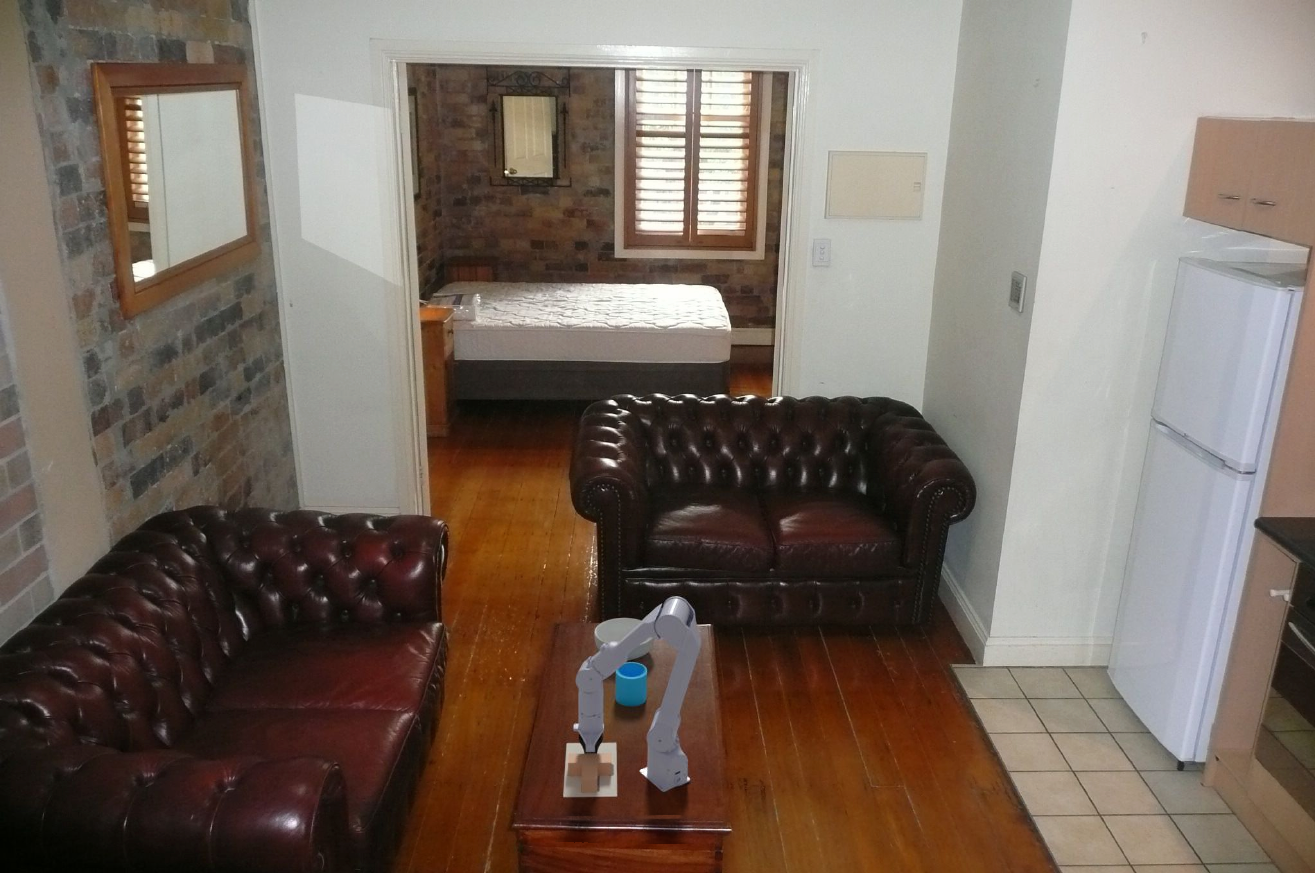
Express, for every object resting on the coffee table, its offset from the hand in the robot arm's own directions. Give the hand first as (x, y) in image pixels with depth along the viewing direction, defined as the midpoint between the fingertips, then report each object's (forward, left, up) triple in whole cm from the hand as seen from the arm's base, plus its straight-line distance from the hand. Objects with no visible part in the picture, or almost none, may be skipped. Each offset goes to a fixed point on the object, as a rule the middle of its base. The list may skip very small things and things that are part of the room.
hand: (590, 759), depth 240 cm
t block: (-5, +4, -1) cm, 6 cm away
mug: (+19, -26, -2) cm, 32 cm away
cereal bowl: (+37, -36, -2) cm, 51 cm away
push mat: (-2, +1, -1) cm, 3 cm away
